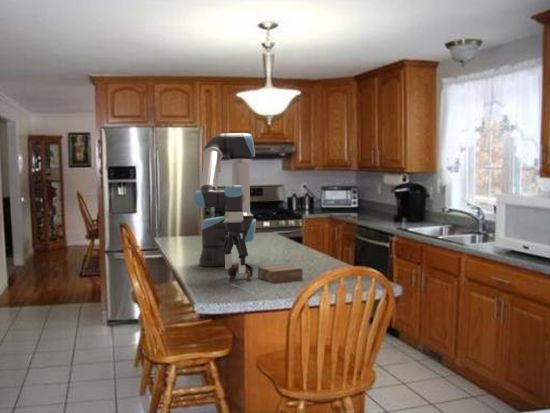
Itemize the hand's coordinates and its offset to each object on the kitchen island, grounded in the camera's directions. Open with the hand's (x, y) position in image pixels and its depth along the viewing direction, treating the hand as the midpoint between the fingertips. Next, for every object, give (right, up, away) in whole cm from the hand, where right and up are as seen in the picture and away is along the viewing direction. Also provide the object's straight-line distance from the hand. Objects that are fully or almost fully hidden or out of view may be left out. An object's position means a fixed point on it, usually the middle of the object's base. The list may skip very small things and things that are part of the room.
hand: (235, 271), depth 241 cm
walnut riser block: (+19, -4, +1) cm, 20 cm away
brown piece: (0, -5, 0) cm, 5 cm away
